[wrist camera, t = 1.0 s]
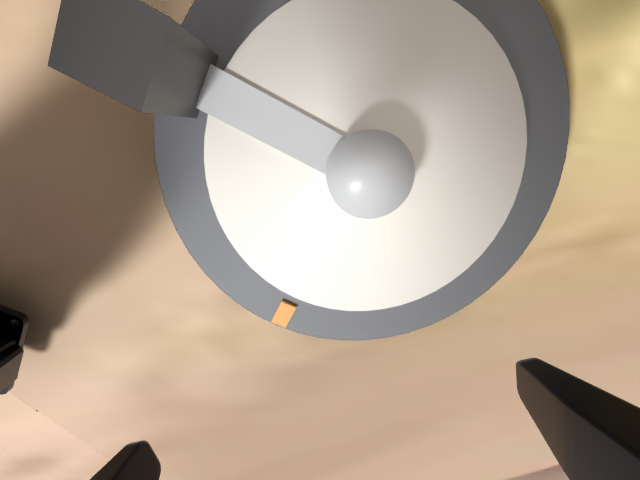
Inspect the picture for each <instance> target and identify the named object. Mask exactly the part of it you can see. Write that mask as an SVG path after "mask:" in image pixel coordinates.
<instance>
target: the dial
mask: <svg viewBox="0 0 640 480" xmlns="http://www.w3.org/2000/svg"><path fill="white" fill-rule="evenodd" d="M218 58H219V56H218V55H217V54H216V53H215V52H213V51H212V50H211V49H210V48H208V47H207V46H206V45H204V44H203V43H202V42H201V41H199V40H198V39H197V38H196V37H194V36H193V35H192V34H191V33H189V32H188V31H187V30H185V29H184V28H183V27H182V26H180V25H179V24H178V23H177V22H175V21H174V20H173V19H171V18H170V17H168V16H167V15H165V14H163V13H161V12H159V11H158V10H156V9H154V8H152V7H150V6H149V5H147V4H145V3H143V2H141V1H140V0H61V5H60V10H59V14H58V19H57V24H56V29H55V34H54V38H53V43H52V48H51V53H50V57H49V62H48V66H49V67H51V68H53V69H55V70H57V71H59V72H61V73H63V74H65V75H67V76H69V77H71V78H73V79H75V80H77V81H79V82H81V83H83V84H85V85H87V86H89V87H91V88H94V89H96V90H98V91H100V92H102V93H104V94H106V95H108V96H110V97H112V98H114V99H116V100H118V101H120V102H122V103H124V104H126V105H128V106H130V107H132V108H134V109H136V110H138V111H140V112H143V113H152V114H161V115H170V116H179V117H189V118H197V117H198V114H199V111H200V110H201V111H203V112H205V113H207V114H208V117H207V124H206V130H205V137H204V166H205V175H206V183H207V187H208V191H209V195H210V200H211V203H212V206H213V208H214V211H215V214H216V216H217V219H218V221H219V223H220V225H221V227H222V229H223V231H224V233H225V235H226V236H227V238H228V240H229V241H230V243H231V244H232V245H233V247H234V248H235V250H236V251H237V253H238V254H239V255H240V256H241V257H242V258H243V260H244V261H245V262H246V263H247V264H248V265H249V266H250V267H251V268H252V269H253V270H254V271H255V272H256V273H257V274H259V275H260V276H261V277H262V278H263V279H264V280H266V281H267V282H269V283H270V284H272V285H273V286H275V287H276V288H278V289H279V290H281V291H283V292H285V293H287V294H288V295H290V296H292V297H294V298H296V299H299V300H302V301H304V302H307V303H310V304H313V305H316V306H321V307H325V308H329V309H336V310H344V311H371V310H380V309H386V308H391V307H395V306H400V305H403V304H406V303H409V302H412V301H415V300H418V299H420V298H422V297H424V296H426V295H428V294H431V293H433V292H435V291H437V290H438V289H440V288H441V287H443V286H445V285H446V284H448V283H449V282H451V281H453V280H454V279H455V278H456V277H458V276H459V275H460V274H461V273H463V272H464V271H465V270H467V269H468V268H469V267H470V266H471V265H472V264H473V263H474V262H475V261H476V260H477V259H478V258H479V257H480V256H481V255H482V253H483V252H484V251H485V250H486V249H487V247H488V246H489V245H490V244H491V242H492V241H493V240H494V238H495V237H496V235H497V234H498V232H499V231H500V229H501V227H502V226H503V224H504V223H505V221H506V219H507V217H508V214H509V212H510V210H511V208H512V206H513V204H514V201H515V199H516V196H517V193H518V190H519V187H520V184H521V180H522V175H523V171H524V166H525V159H526V148H527V125H526V115H525V109H524V103H523V97H522V94H521V91H520V88H519V84H518V81H517V78H516V75H515V73H514V71H513V69H512V67H511V65H510V63H509V61H508V58H507V56H506V54H505V53H504V51H503V50H502V48H501V47H500V46H499V44H498V43H497V41H496V40H495V38H494V37H493V35H492V34H491V33H490V32H489V31H488V30H487V29H486V28H485V27H484V26H483V24H482V23H481V22H480V21H479V20H478V19H477V18H476V17H475V16H473V15H472V14H471V13H470V12H468V11H467V10H466V9H464V8H463V7H462V6H461V5H459V4H458V3H456V2H455V1H453V0H291V1H290V2H288V3H287V4H285V5H284V6H282V7H281V8H279V9H278V10H276V11H275V12H273V13H272V14H271V15H269V16H268V17H267V18H266V19H265V20H264V21H263V22H262V23H261V24H260V25H258V26H257V27H256V28H255V29H254V30H253V31H252V32H251V33H250V35H249V36H248V37H247V38H246V39H245V41H244V42H243V43H242V44H241V45H240V47H239V48H238V49H237V51H236V52H235V54H234V55H233V57H232V59H231V60H230V62H229V63H228V65H227V67H226V68H225V70H224V71H223V70H221V69H219V68H217V67H215V66H216V64H217V61H218Z"/></svg>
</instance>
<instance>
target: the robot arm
mask: <svg viewBox="0 0 640 480" xmlns="http://www.w3.org/2000/svg"><path fill="white" fill-rule="evenodd" d="M28 325H29V319H28V317H27V316H26V315H25V314H23V313H21V312H19V311H16V310H13V309H10V308H8V307H5V306H2V305H0V394H1V395H2V394H6V393H7V392H8V391H9V390H11V389H12V388H13V385H14V381H15V380H16V379H17V376H18V372H19V368H20V364H21V360H22V356H23V352H24V351H23V345H24V341H25V337H26V333H27V329H28ZM516 377H517V390H518V393H519V396H520V398H521V400H522V402H523V403H524V405H525V407H526V409H527V410H528V412H529V414H530V415H531V417H532V419H533V420H534V422H535V424H536V425H537V427H538V429H539V430H540V432H541V434H542V436H543V437H544V439H545V441H546V442H547V444H548V446H549V447H550V449H551V451H552V452H553V454H554V456H555V457H556V459H557V461H558V462H559V464H560V466H561V467H562V469H563V470H564V472H565V473H566V475H567V476H568V478H569V479H570V480H640V408H639V407H637V406H635V405H633V404H631V403H629V402H627V401H625V400H623V399H621V398H618V397H616V396H614V395H612V394H610V393H608V392H606V391H604V390H602V389H600V388H598V387H596V386H594V385H592V384H590V383H588V382H585V381H583V380H581V379H579V378H577V377H575V376H573V375H571V374H569V373H567V372H565V371H563V370H561V369H559V368H557V367H555V366H552V365H550V364H548V363H546V362H544V361H542V360H540V359H537V358H529V359H525V360H520V361H518V362H517V363H516ZM160 472H161V465H160V462H159V460H158V458H157V456H156V455H155V453H154V451H153V450H152V448H151V446H150V445H149V443H148V442H147V441H138V442H133V443H130V444H128V445H126V446H125V447H124V448H123V449H122V450H121V451H120V452H119V453H117V454H116V455H115V456H114V457H113V458H112V459H111V460H110V461H109V462H108V463H107V464H106V465H105V466H104V467H103V468H102V469H101V470H99V471H98V472H97V473H96V474H95V475H94V476H93V477H92V478H91V479H90V480H159V477H160Z"/></svg>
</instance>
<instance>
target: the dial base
mask: <svg viewBox="0 0 640 480" xmlns="http://www.w3.org/2000/svg"><path fill="white" fill-rule="evenodd" d="M290 1H291V0H196V1H195V2H194V4H193V5H192V6H191V8H190V10H189V12H188V13H187V15H186V17H185V19H184V21H183V22H182V24H181V26H182V27H183V28H184V29H185V30H187V31H188V32H189V33H191V34H192V35H193V36H194V37H196V38H197V39H198V40H199V41H201V42H202V43H203V44H204V45H206V46H207V47H208V48H210V49H211V50H212V51H213V52H215V53H216V54H217V55H218V56H219V58H218V61H217V64H216V66H215V67H217V68H219V69H221V70H223V71H224V70H225V68H226V67H227V65H228V63H229V62H230V60H231V59H232V57H233V55H234V54H235V52H236V51H237V49H238V48H239V47H240V45H241V44H242V43H243V42H244V41H245V39H246V38H247V37H248V36H249V35H250V33H251V32H252V31H253V30H254V29H255V28H256V27H257V26H258V25H260V24H261V23H262V22H263V21H264V20H265V19H266V18H267V17H268V16H269V15H271V14H272V13H273V12H275V11H276V10H278V9H279V8H281V7H282V6H284V5H285V4H287V3H288V2H290ZM453 1H455V2H456V3H458V4H459V5H461V6H462V7H463V8H464V9H466V10H467V11H468V12H470V13H471V14H472V15H473V16H475V17H476V18H477V19H478V20H479V21H480V22H481V23H482V24H483V26H484V27H485V28H486V29H487V30H488V31H489V32H490V33H491V34H492V35H493V37H494V38H495V40H496V41H497V43H498V44H499V46H500V47H501V48H502V50H503V51H504V53H505V54H506V56H507V58H508V61H509V63H510V65H511V67H512V69H513V71H514V73H515V75H516V78H517V81H518V84H519V88H520V91H521V94H522V97H523V103H524V109H525V115H526V125H527V148H526V159H525V166H524V171H523V175H522V180H521V184H520V187H519V190H518V193H517V196H516V199H515V201H514V204H513V206H512V208H511V210H510V212H509V214H508V217H507V219H506V221H505V223H504V224H503V226H502V227H501V229H500V231H499V232H498V234H497V235H496V237H495V238H494V240H493V241H492V242H491V244H490V245H489V246H488V247H487V249H486V250H485V251H484V252H483V253H482V255H481V256H480V257H479V258H478V259H477V260H476V261H475V262H474V263H473V264H472V265H471V266H470V267H469V268H468V269H467V270H465V271H464V272H463V273H461V274H460V275H459V276H458V277H456V278H455V279H454V280H453V281H451V282H449V283H448V284H446V285H445V286H443V287H441V288H440V289H438V290H437V291H435V292H433V293H431V294H428V295H426V296H424V297H422V298H420V299H418V300H415V301H412V302H409V303H406V304H403V305H400V306H395V307H391V308H386V309H380V310H371V311H344V310H336V309H329V308H325V307H321V306H316V305H313V304H310V303H307V302H304V301H302V300H299V299H296V298H294V297H292V296H290V295H288V294H287V293H285V292H283V291H281V290H279V289H278V288H276V287H275V286H273V285H272V284H270V283H269V282H267V281H266V280H264V279H263V278H262V277H261V276H260V275H259V274H257V273H256V272H255V271H254V270H253V269H252V268H251V267H250V266H249V265H248V264H247V263H246V262H245V261H244V260H243V258H242V257H241V256H240V255H239V254H238V253H237V251H236V250H235V248H234V247H233V245H232V244H231V243H230V241H229V240H228V238H227V236H226V235H225V233H224V231H223V229H222V227H221V225H220V223H219V221H218V219H217V216H216V214H215V211H214V208H213V206H212V203H211V200H210V195H209V191H208V187H207V183H206V175H205V166H204V137H205V130H206V124H207V117H208V114H207V113H205V112H203V111H201V110H200V111H199V114H198V117H197V118H189V117H179V116H170V115H161V114H155V116H154V153H155V160H156V167H157V173H158V180H159V184H160V187H161V191H162V194H163V198H164V201H165V205H166V208H167V210H168V212H169V215H170V217H171V219H172V222H173V224H174V226H175V229H176V231H177V233H178V234H179V236H180V238H181V240H182V241H183V243H184V245H185V246H186V248H187V250H188V252H189V253H190V254H191V256H192V257H193V258H194V260H195V261H196V262H197V264H198V265H199V266H200V268H201V269H202V270H203V272H204V273H205V274H206V275H207V276H208V277H209V278H210V279H211V280H212V281H213V282H214V283H215V284H216V285H217V286H218V287H219V288H220V289H221V290H222V291H223V292H224V293H226V294H227V295H228V296H229V297H231V298H232V299H233V300H234V301H235V302H237V303H238V304H239V305H241V306H243V307H244V308H246V309H247V310H249V311H250V312H252V313H253V314H255V315H257V316H259V317H261V318H263V319H265V320H267V321H269V322H271V323H273V324H275V325H277V326H280V327H283V328H285V329H288V330H291V331H294V332H297V333H301V334H305V335H309V336H314V337H318V338H325V339H334V340H371V339H380V338H387V337H392V336H396V335H401V334H405V333H409V332H412V331H415V330H418V329H421V328H424V327H427V326H429V325H432V324H434V323H436V322H438V321H440V320H442V319H444V318H447V317H449V316H451V315H452V314H454V313H456V312H457V311H459V310H461V309H462V308H464V307H466V306H467V305H469V304H470V303H472V302H473V301H474V300H476V299H477V298H478V297H480V296H481V295H482V294H484V293H485V292H486V291H488V290H489V289H490V288H491V287H492V286H493V285H494V284H495V283H496V282H497V281H498V280H499V279H500V278H501V277H503V276H504V275H505V274H506V273H507V272H508V270H509V269H510V268H511V267H512V266H513V264H514V263H515V262H516V261H517V260H518V259H519V257H520V256H521V255H522V254H523V252H524V251H525V249H526V248H527V247H528V245H529V244H530V242H531V241H532V239H533V238H534V236H535V235H536V233H537V231H538V230H539V228H540V226H541V224H542V222H543V220H544V218H545V216H546V214H547V212H548V211H549V208H550V206H551V203H552V201H553V198H554V195H555V193H556V190H557V188H558V185H559V181H560V178H561V174H562V170H563V166H564V162H565V158H566V151H567V143H568V136H569V93H568V85H567V77H566V70H565V67H564V63H563V59H562V56H561V52H560V48H559V44H558V41H557V39H556V37H555V34H554V32H553V30H552V27H551V25H550V23H549V20H548V18H547V16H546V13H545V12H544V10H543V9H542V7H541V5H540V4H539V2H538V0H453Z"/></svg>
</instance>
